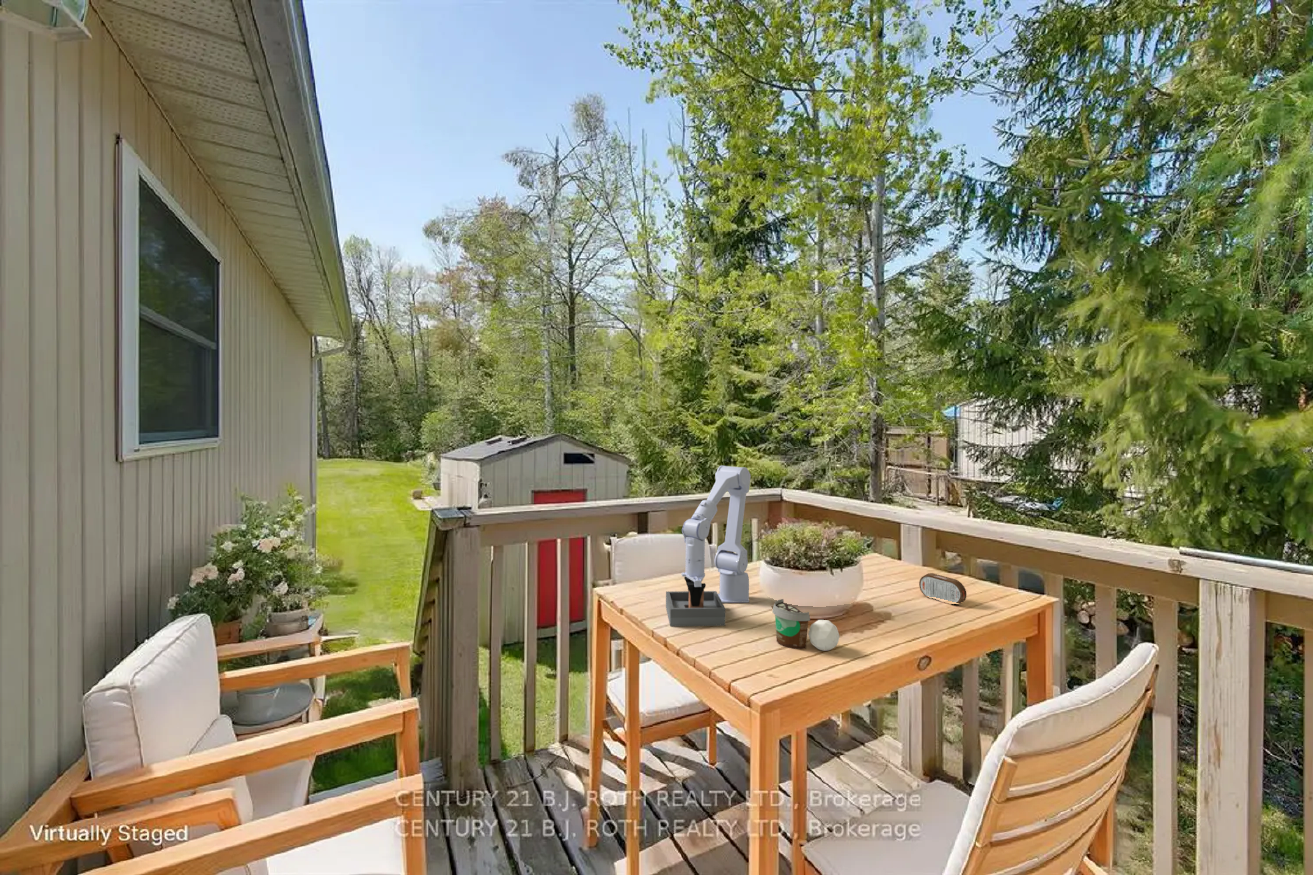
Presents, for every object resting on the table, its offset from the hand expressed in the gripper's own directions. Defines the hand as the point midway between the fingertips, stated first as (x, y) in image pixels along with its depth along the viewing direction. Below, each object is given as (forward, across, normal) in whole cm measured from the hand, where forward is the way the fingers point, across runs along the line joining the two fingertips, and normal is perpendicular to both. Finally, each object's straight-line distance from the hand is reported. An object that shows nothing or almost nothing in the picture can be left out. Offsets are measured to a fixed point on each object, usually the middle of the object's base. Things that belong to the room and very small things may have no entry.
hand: (694, 603), depth 173 cm
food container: (+4, +21, +22) cm, 31 cm away
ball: (+4, +25, +31) cm, 40 cm away
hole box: (+4, 0, 0) cm, 4 cm away
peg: (+3, 0, 0) cm, 3 cm away
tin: (+4, -11, +84) cm, 85 cm away
